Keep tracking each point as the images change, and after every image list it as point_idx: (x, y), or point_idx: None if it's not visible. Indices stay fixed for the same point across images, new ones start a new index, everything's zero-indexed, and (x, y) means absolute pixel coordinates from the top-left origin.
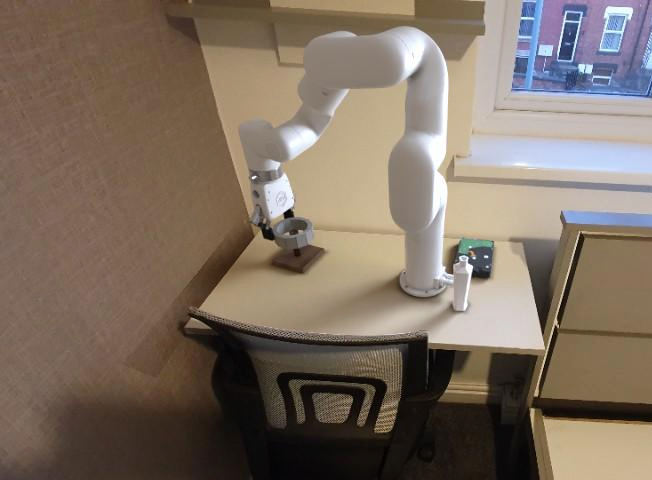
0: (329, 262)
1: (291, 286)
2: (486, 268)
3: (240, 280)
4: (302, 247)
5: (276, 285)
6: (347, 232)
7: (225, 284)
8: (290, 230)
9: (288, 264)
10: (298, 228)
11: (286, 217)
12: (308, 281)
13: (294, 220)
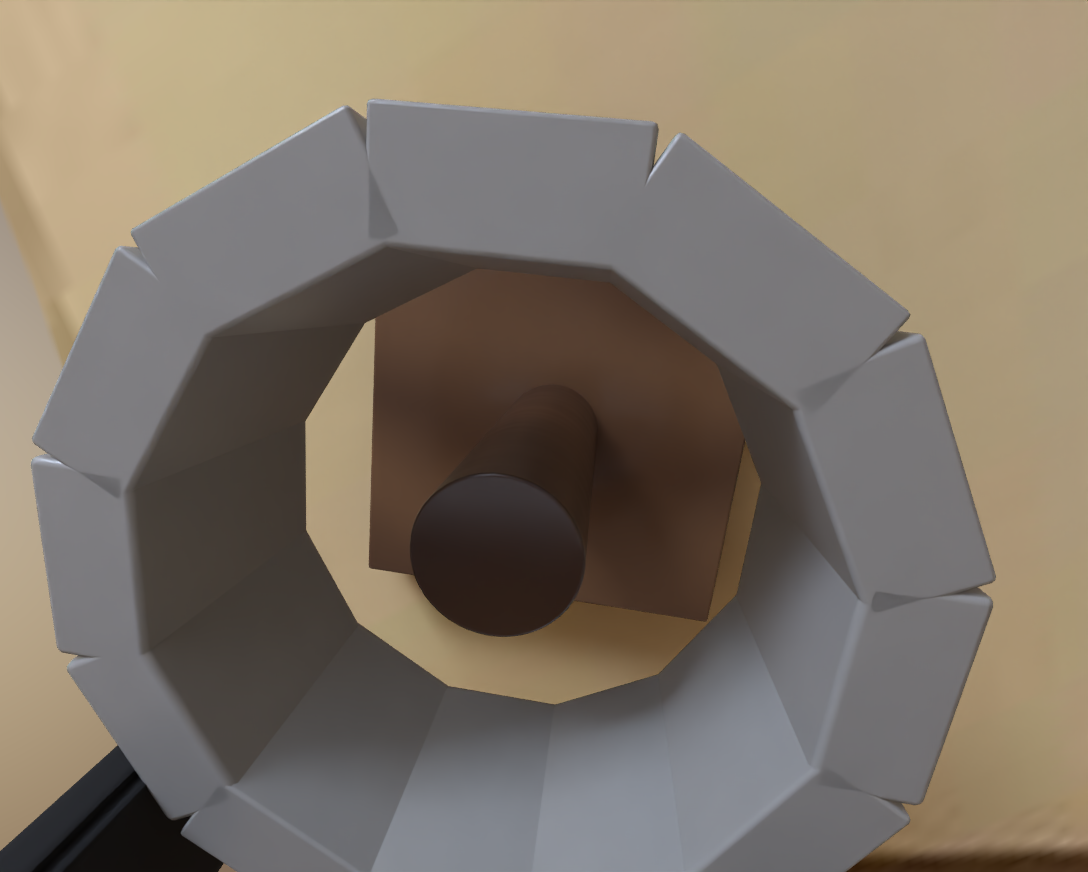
0: (532, 81)
1: (993, 268)
2: None
3: (956, 728)
4: (439, 447)
5: (992, 417)
6: (23, 166)
7: (1021, 803)
8: (379, 650)
9: (741, 440)
10: (300, 563)
11: (185, 867)
12: (889, 134)
13: (207, 703)
